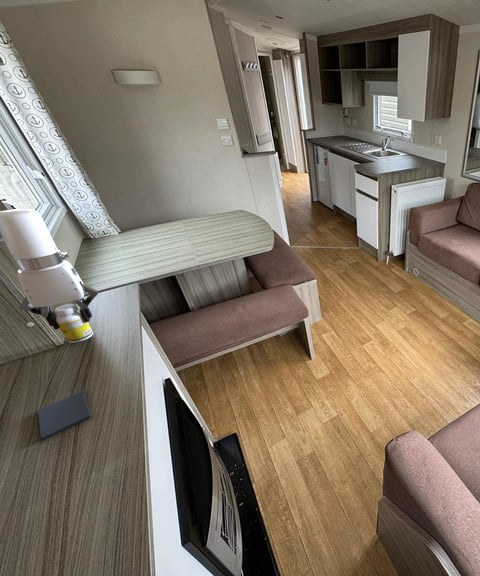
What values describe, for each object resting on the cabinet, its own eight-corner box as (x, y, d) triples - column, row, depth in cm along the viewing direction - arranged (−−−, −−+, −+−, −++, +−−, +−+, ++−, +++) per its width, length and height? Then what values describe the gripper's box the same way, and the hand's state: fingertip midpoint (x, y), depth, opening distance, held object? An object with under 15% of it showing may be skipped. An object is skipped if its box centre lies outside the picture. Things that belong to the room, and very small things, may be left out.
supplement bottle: (66, 337, 84) (50, 307, 80) (92, 330, 88) (77, 300, 84) (68, 346, 81) (51, 314, 77) (95, 337, 85) (80, 307, 80)
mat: (39, 412, 62) (37, 409, 62) (84, 392, 67) (82, 390, 67) (42, 440, 56) (40, 438, 56) (91, 417, 61) (90, 415, 61)
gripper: (89, 250, 82) (114, 309, 90) (-5, 263, 73) (33, 326, 81) (84, 259, 76) (112, 320, 84) (-18, 274, 67) (24, 340, 75)
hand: (73, 322), depth 82 cm, fingers closed on supplement bottle, 5 cm apart
